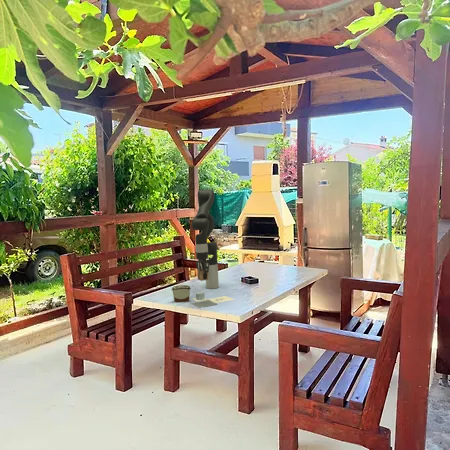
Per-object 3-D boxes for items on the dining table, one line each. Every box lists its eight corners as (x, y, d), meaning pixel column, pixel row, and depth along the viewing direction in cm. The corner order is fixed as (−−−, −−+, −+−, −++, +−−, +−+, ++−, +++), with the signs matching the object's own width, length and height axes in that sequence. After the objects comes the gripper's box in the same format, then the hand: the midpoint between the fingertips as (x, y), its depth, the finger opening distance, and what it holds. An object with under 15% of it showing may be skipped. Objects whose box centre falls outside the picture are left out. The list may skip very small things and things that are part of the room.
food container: (192, 299, 251) (191, 284, 250) (191, 302, 245) (190, 286, 244) (173, 300, 251) (172, 285, 250) (172, 303, 245) (171, 287, 244)
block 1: (197, 279, 238) (197, 269, 237) (205, 278, 240) (204, 268, 240) (201, 280, 233) (200, 271, 233) (208, 279, 236) (208, 269, 235)
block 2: (196, 299, 250) (195, 293, 250) (201, 298, 253) (200, 292, 252) (199, 300, 247) (199, 294, 247) (204, 299, 249) (204, 293, 249)
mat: (191, 304, 240) (191, 303, 240) (208, 300, 246) (208, 299, 246) (200, 308, 230) (199, 307, 230) (217, 304, 236) (217, 304, 236)
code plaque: (203, 300, 248) (203, 299, 248) (225, 296, 255) (225, 295, 255) (212, 304, 237) (212, 303, 237) (234, 300, 245) (234, 299, 245)
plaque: (192, 299, 251) (192, 299, 251) (203, 297, 255) (203, 296, 255) (197, 302, 244) (197, 301, 244) (208, 299, 248) (208, 299, 248)
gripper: (212, 251, 231) (214, 279, 232) (202, 249, 244) (203, 275, 245) (201, 253, 227) (202, 281, 229) (191, 250, 240) (192, 277, 241)
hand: (203, 278), depth 237 cm, fingers closed on block 1, 5 cm apart
